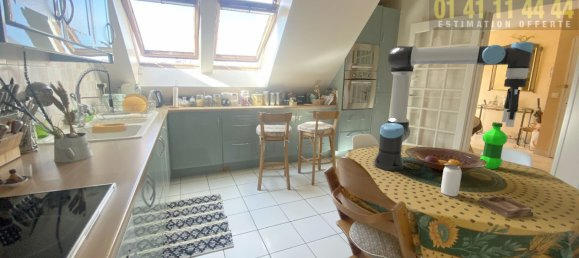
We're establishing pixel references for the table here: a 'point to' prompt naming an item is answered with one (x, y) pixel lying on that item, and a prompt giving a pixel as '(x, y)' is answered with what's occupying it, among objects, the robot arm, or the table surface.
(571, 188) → the table surface
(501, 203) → the tray
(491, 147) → the plastic bottle
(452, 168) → the can
